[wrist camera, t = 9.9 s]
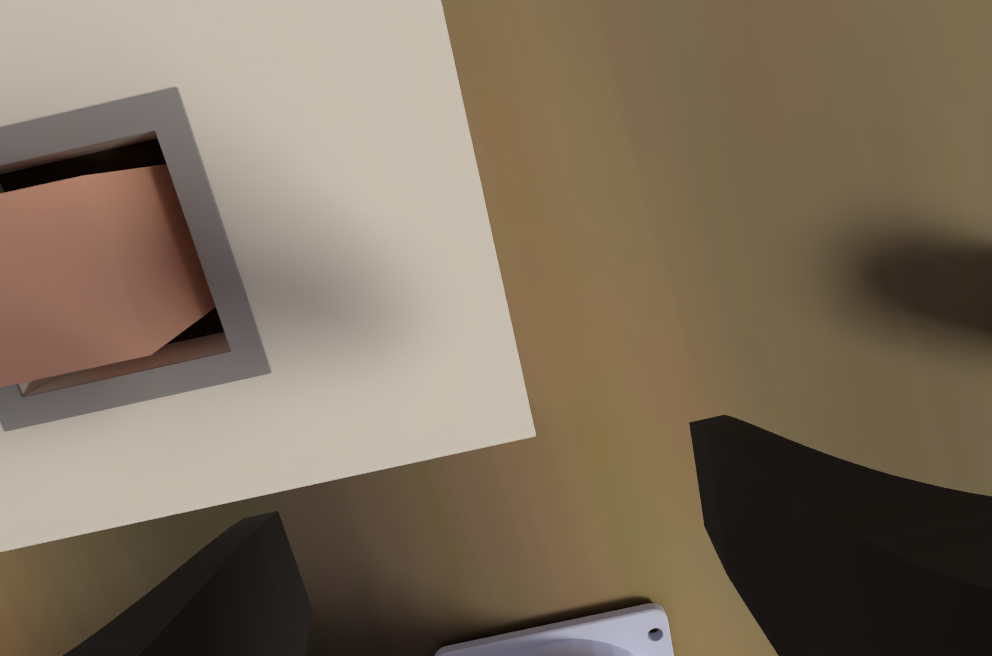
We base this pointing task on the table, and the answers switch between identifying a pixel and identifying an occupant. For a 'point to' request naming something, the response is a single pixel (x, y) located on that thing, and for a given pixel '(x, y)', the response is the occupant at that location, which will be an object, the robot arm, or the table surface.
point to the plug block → (94, 273)
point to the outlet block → (264, 255)
